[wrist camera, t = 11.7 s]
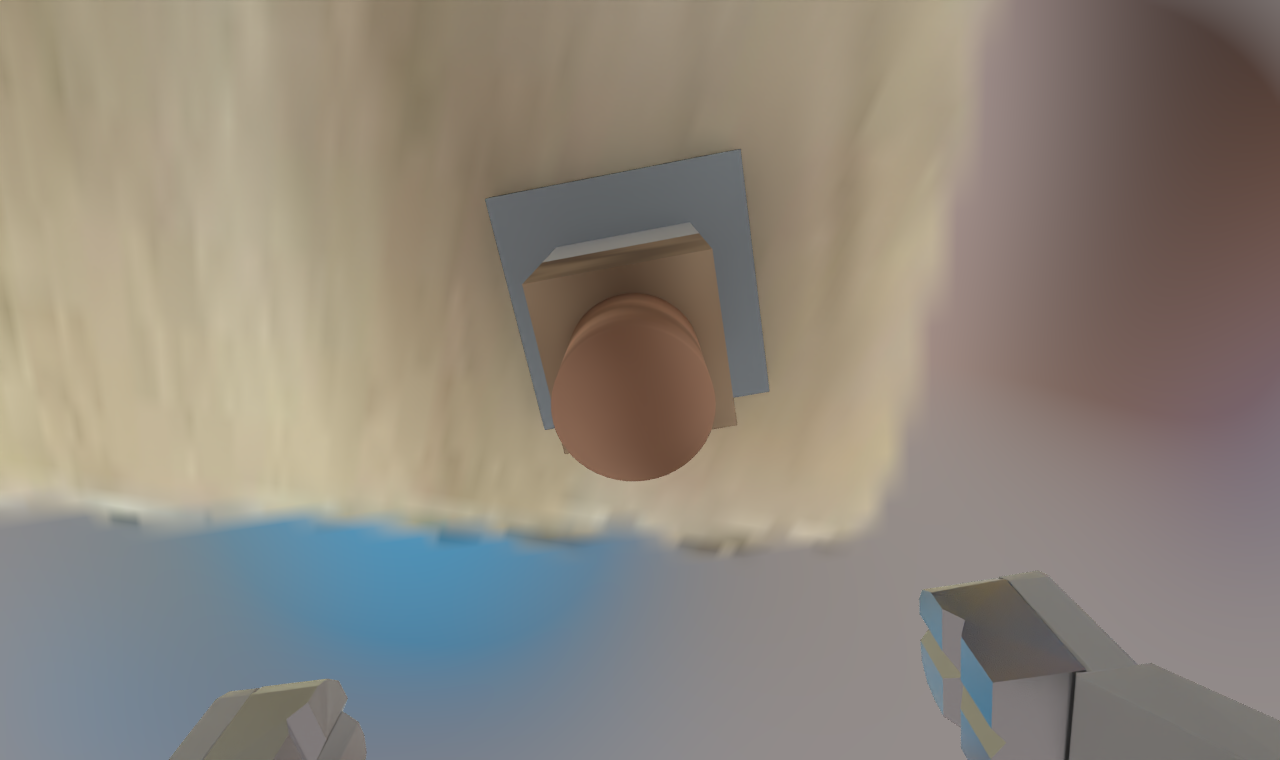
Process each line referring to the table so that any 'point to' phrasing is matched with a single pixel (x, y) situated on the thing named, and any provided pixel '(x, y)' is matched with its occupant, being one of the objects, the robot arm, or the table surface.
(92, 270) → the table surface
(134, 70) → the table surface
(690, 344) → the brown rounded knob
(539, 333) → the tan wooden block
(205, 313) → the table surface
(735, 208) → the blue-grey board
